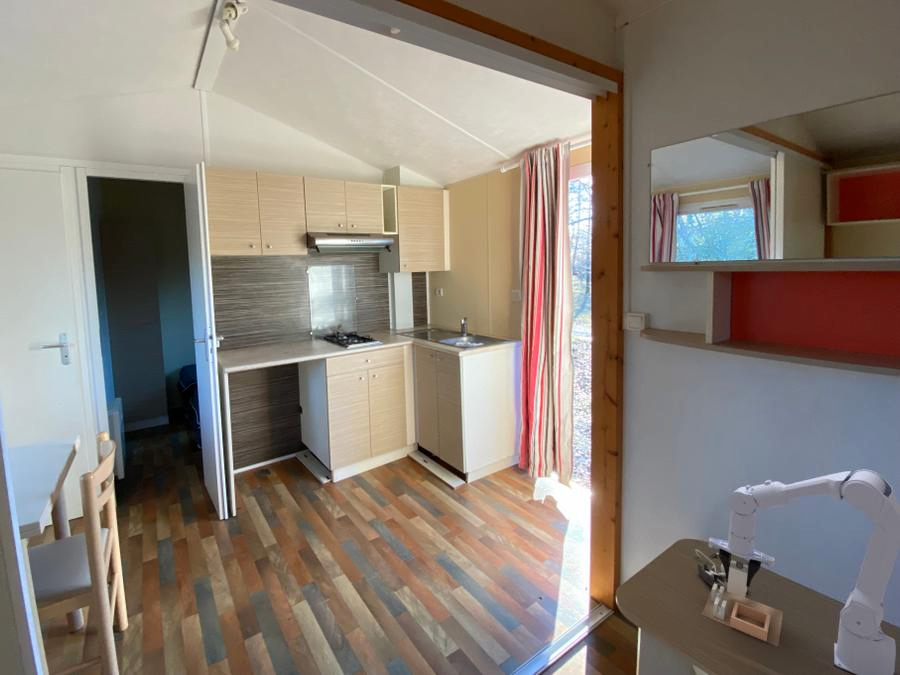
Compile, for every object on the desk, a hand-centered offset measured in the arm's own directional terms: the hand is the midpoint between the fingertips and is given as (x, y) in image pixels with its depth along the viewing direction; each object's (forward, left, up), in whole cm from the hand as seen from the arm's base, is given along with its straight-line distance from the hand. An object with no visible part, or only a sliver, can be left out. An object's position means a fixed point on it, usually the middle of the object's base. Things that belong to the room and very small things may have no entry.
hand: (738, 581), depth 120 cm
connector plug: (0, 0, -3) cm, 3 cm away
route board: (-2, +4, -7) cm, 8 cm away
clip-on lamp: (+6, -11, -7) cm, 15 cm away
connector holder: (-4, +8, -7) cm, 11 cm away
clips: (+3, +6, -6) cm, 9 cm away
